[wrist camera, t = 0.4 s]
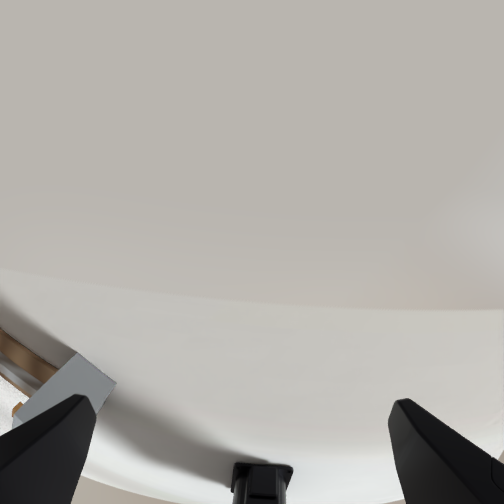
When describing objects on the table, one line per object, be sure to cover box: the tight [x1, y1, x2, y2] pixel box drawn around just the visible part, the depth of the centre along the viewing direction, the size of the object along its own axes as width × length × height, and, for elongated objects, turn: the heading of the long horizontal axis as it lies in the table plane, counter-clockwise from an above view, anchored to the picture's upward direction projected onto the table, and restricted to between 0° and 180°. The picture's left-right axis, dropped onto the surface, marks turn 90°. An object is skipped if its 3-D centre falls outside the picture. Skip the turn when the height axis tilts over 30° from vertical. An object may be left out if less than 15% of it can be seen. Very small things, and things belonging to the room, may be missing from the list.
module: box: [12, 352, 117, 429], centre depth 21 cm, size 6×4×11 cm
